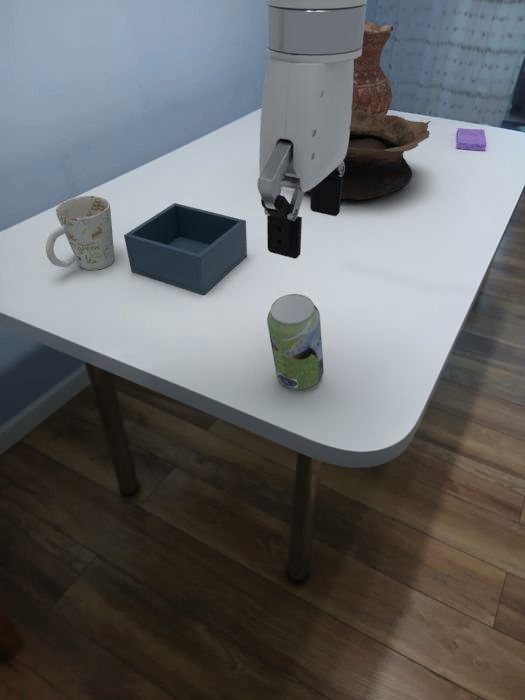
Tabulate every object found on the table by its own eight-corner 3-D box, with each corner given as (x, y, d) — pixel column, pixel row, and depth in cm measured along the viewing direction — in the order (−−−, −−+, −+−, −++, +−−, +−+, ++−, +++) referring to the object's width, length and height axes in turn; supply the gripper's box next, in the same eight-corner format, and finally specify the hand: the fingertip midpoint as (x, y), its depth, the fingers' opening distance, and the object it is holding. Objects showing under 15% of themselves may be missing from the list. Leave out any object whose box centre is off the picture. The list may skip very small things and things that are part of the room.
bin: (131, 272, 83) (123, 235, 78) (179, 237, 92) (174, 202, 87) (204, 295, 77) (200, 257, 73) (247, 256, 86) (246, 220, 82)
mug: (131, 257, 86) (120, 203, 80) (75, 291, 78) (58, 234, 72) (97, 244, 90) (84, 191, 83) (41, 276, 82) (21, 220, 75)
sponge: (456, 149, 127) (458, 141, 126) (456, 133, 136) (457, 126, 135) (485, 151, 125) (487, 144, 124) (482, 136, 135) (484, 128, 133)
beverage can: (332, 377, 63) (341, 300, 56) (293, 407, 60) (297, 329, 52) (296, 354, 67) (300, 278, 59) (257, 381, 63) (255, 304, 55)
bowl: (308, 151, 130) (317, 88, 121) (431, 183, 118) (451, 116, 109) (237, 185, 106) (241, 109, 97) (383, 229, 94) (404, 148, 85)
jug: (394, 122, 144) (411, 20, 127) (376, 145, 129) (392, 32, 113) (322, 113, 151) (329, 15, 134) (297, 134, 136) (301, 27, 120)
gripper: (315, 15, 46) (307, 193, 57) (214, 48, 34) (229, 263, 45) (395, 19, 43) (369, 206, 54) (314, 57, 31) (303, 284, 43)
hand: (305, 232), depth 50 cm, fingers open, 9 cm apart
